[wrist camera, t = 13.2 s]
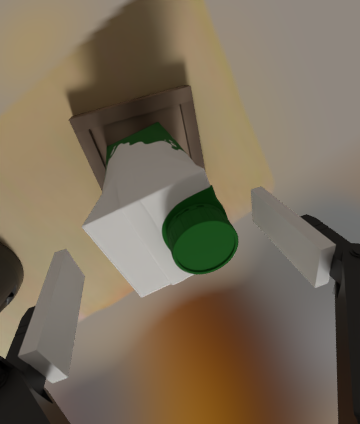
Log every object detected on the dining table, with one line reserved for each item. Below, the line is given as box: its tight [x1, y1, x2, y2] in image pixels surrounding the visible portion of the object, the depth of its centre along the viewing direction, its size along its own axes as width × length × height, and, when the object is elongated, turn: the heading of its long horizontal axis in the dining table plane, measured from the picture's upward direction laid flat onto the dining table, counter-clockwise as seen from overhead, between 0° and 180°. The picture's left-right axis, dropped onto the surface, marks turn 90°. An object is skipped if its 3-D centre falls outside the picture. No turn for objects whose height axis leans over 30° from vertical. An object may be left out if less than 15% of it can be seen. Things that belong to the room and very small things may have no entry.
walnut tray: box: [69, 85, 205, 191], centre depth 30 cm, size 14×14×2 cm
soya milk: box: [82, 122, 238, 297], centre depth 22 cm, size 9×9×20 cm
